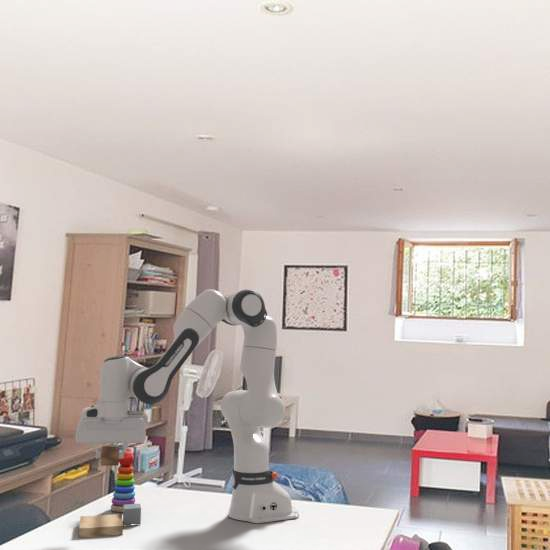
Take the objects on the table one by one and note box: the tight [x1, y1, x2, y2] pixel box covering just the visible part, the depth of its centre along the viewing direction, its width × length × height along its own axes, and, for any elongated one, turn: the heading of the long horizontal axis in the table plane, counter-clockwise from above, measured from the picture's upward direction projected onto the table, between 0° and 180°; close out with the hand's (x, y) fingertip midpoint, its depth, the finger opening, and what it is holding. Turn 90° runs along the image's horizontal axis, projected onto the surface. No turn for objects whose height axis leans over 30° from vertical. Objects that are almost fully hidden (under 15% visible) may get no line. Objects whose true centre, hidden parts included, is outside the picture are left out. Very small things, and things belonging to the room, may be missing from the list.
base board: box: [78, 513, 124, 538], centre depth 187 cm, size 12×12×2 cm
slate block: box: [122, 503, 142, 526], centre depth 194 cm, size 5×5×5 cm
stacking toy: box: [110, 450, 136, 513], centre depth 209 cm, size 8×8×19 cm
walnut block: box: [100, 444, 121, 467], centre depth 188 cm, size 5×5×5 cm
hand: (109, 458), depth 188 cm, fingers closed on walnut block, 5 cm apart
